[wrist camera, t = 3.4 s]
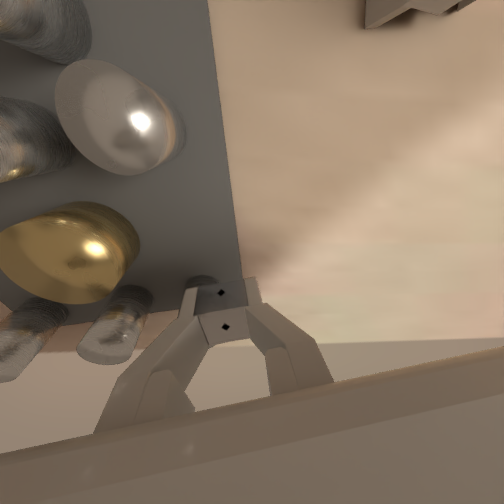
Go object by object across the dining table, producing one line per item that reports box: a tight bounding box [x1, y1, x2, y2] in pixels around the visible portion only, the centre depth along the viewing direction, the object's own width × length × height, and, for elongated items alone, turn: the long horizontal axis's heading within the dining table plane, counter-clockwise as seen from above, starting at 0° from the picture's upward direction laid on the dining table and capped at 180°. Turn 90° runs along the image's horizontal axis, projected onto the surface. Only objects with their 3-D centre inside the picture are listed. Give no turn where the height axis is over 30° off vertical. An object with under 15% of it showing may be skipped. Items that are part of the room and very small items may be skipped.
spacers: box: [0, 0, 219, 383], centre depth 8 cm, size 16×14×4 cm
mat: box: [0, 0, 243, 326], centre depth 10 cm, size 17×16×1 cm
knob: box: [0, 201, 140, 304], centre depth 10 cm, size 4×4×3 cm
